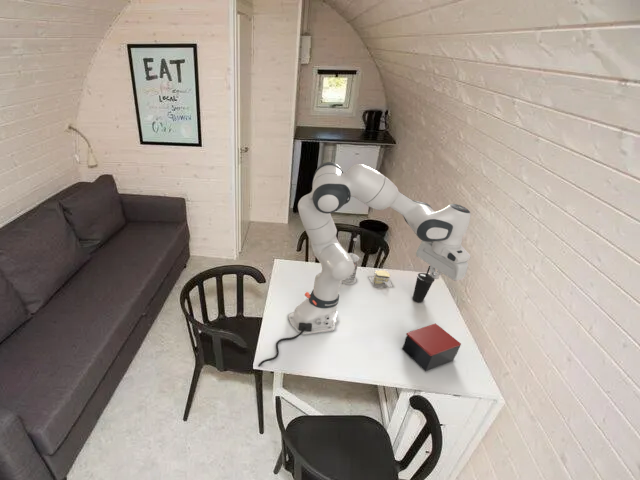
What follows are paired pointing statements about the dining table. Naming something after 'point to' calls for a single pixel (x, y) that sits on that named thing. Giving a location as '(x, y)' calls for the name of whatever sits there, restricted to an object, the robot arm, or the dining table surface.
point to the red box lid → (433, 339)
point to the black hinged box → (424, 358)
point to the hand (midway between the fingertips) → (433, 277)
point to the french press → (352, 278)
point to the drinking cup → (422, 286)
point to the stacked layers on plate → (381, 279)
